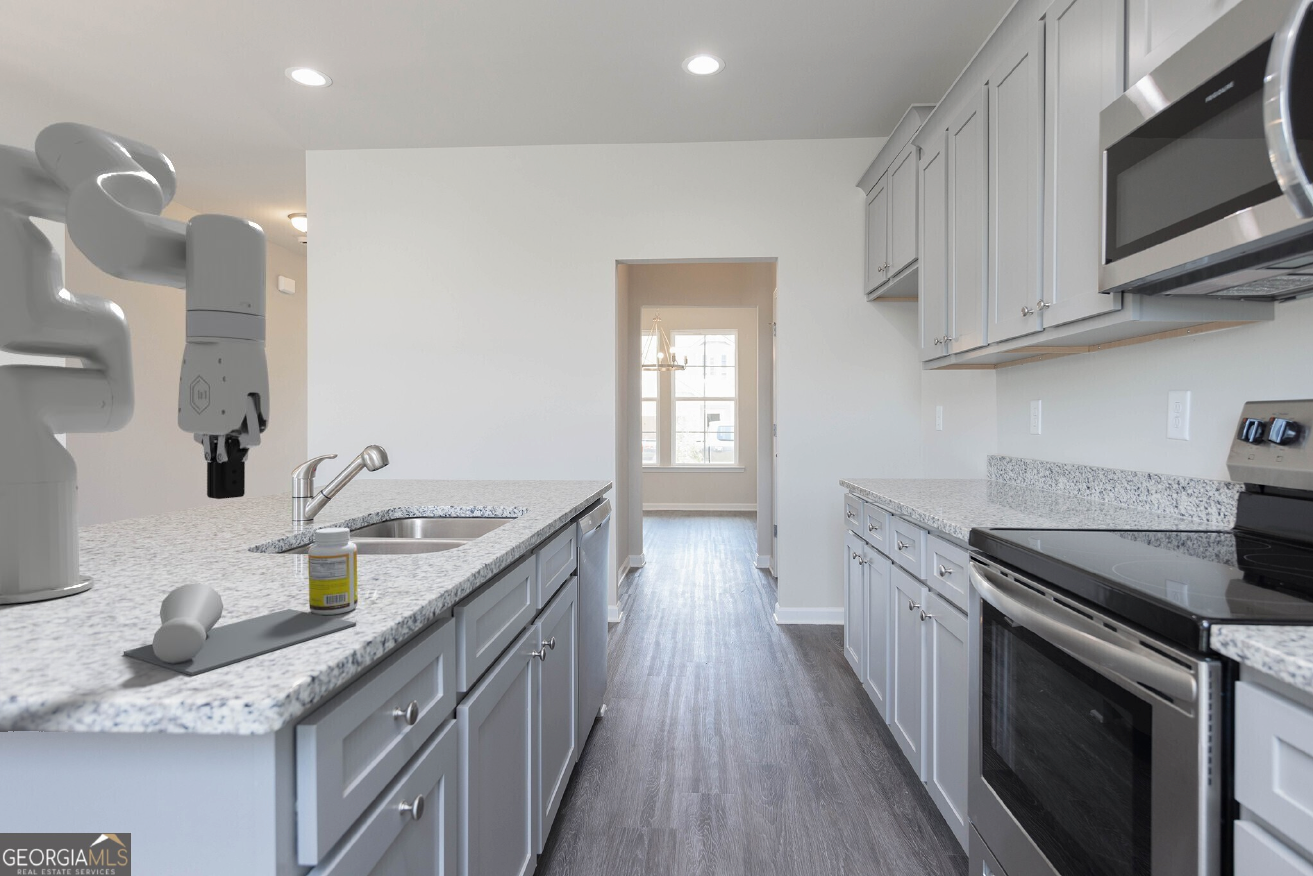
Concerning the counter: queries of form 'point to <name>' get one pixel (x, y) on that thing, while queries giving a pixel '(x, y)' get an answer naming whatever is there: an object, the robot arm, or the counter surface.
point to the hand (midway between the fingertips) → (226, 496)
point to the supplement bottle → (332, 572)
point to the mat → (249, 639)
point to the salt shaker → (186, 622)
